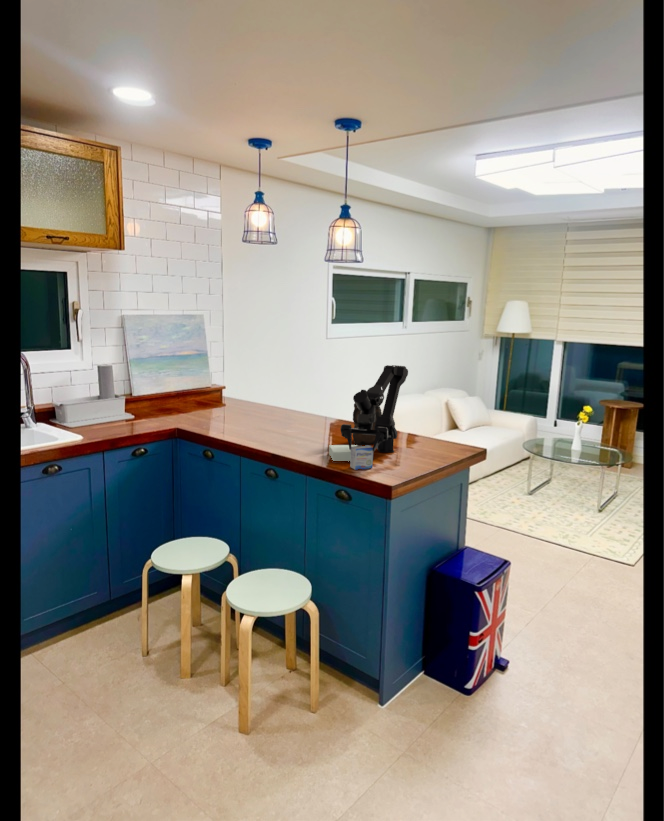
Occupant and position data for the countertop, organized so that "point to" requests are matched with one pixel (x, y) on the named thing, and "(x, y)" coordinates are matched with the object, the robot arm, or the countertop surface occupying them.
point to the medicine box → (361, 457)
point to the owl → (363, 438)
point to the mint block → (340, 452)
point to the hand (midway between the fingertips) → (361, 450)
